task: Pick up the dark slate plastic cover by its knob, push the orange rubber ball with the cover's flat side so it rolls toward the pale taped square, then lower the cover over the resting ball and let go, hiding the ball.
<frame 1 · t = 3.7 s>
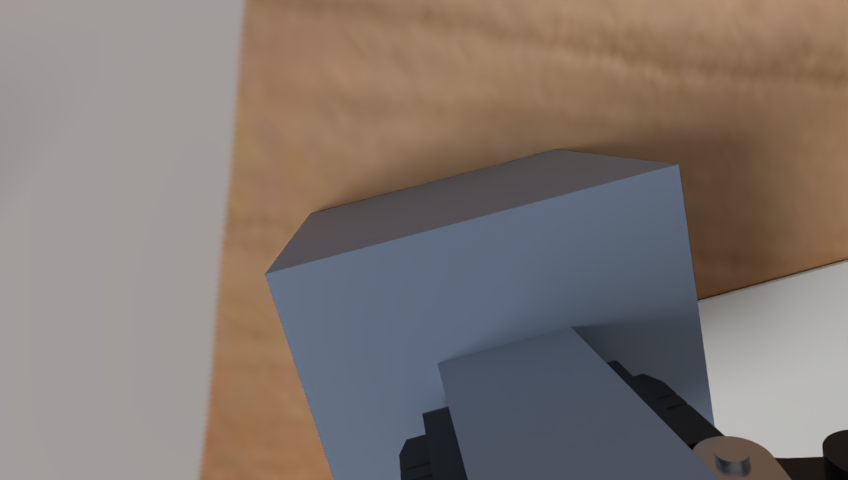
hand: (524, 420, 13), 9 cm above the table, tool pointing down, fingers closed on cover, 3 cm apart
cover: (462, 298, 22), on the table, touching gripper
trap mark: (792, 396, 25), on the table
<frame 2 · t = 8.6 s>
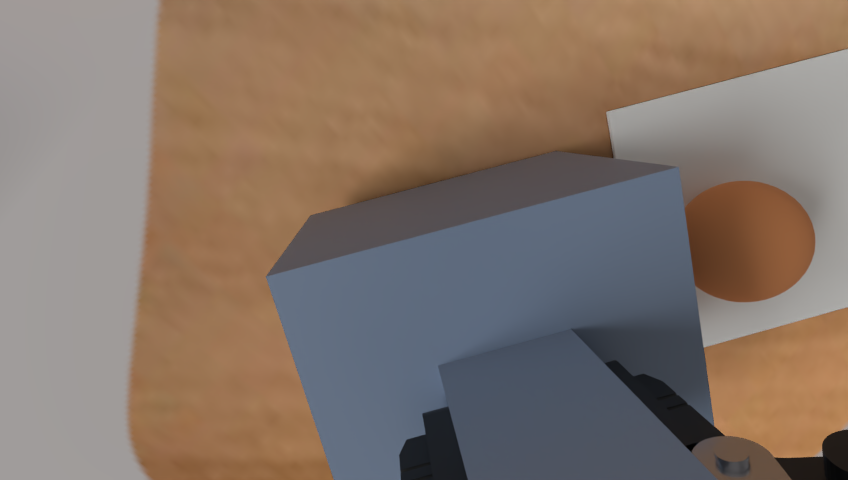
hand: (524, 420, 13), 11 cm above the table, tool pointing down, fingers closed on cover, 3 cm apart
ball: (739, 241, 22), on the table
cover: (463, 299, 22), point 1 cm above the table, touching gripper
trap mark: (752, 209, 24), on the table
when the fingers open (10 cm above the table, at t = 15.2 s): cover stays where it is, on the table.
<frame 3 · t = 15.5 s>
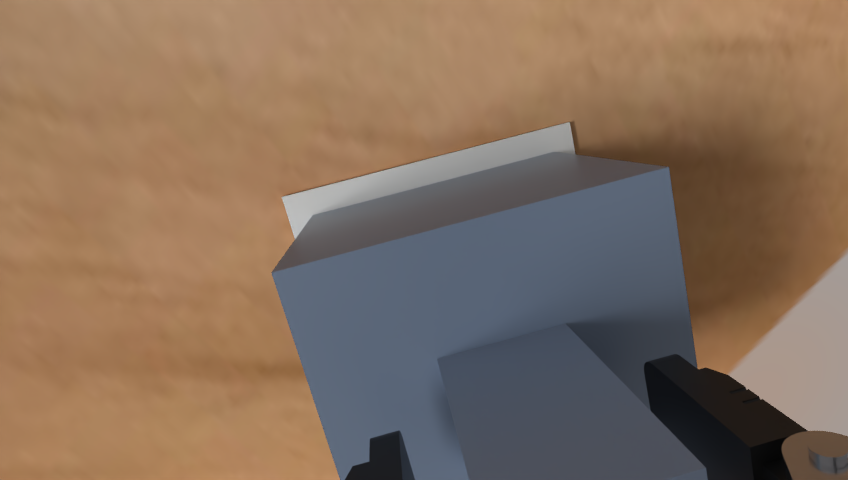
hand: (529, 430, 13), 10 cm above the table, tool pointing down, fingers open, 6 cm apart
cover: (462, 296, 23), on the table
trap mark: (460, 295, 23), on the table
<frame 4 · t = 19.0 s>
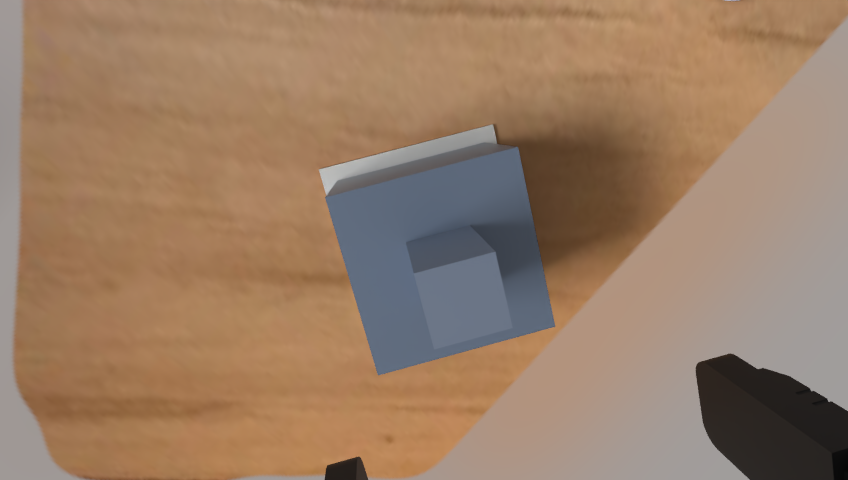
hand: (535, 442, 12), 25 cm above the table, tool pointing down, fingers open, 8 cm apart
cover: (429, 232, 36), on the table
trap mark: (427, 231, 36), on the table
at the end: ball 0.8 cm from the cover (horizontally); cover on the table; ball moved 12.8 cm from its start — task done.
